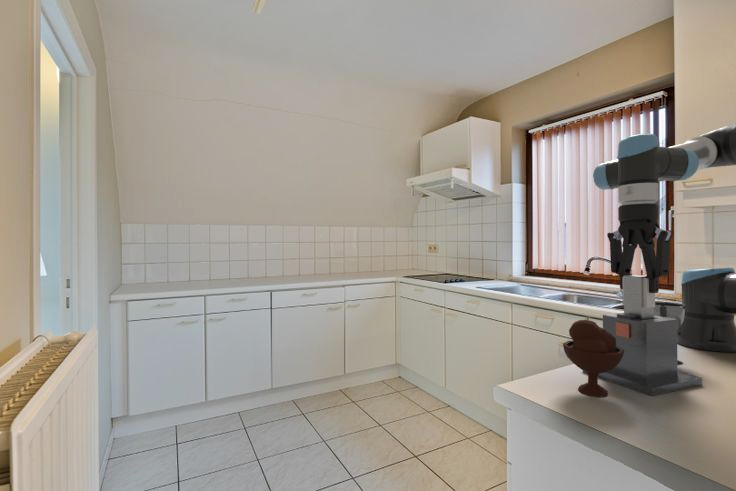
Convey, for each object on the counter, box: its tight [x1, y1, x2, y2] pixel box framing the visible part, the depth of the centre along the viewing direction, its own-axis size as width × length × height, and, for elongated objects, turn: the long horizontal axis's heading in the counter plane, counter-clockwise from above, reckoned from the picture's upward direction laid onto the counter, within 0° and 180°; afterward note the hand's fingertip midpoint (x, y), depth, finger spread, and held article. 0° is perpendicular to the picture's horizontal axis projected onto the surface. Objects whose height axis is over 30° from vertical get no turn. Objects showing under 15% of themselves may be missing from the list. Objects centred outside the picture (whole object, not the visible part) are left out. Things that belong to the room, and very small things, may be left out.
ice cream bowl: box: [562, 319, 624, 398], centre depth 79 cm, size 11×11×15 cm
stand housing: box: [582, 312, 703, 397], centre depth 87 cm, size 16×16×15 cm
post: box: [623, 274, 654, 320], centre depth 87 cm, size 4×4×21 cm
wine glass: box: [654, 300, 685, 366], centre depth 99 cm, size 8×8×15 cm
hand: (638, 305), depth 87 cm, fingers closed on post, 4 cm apart
